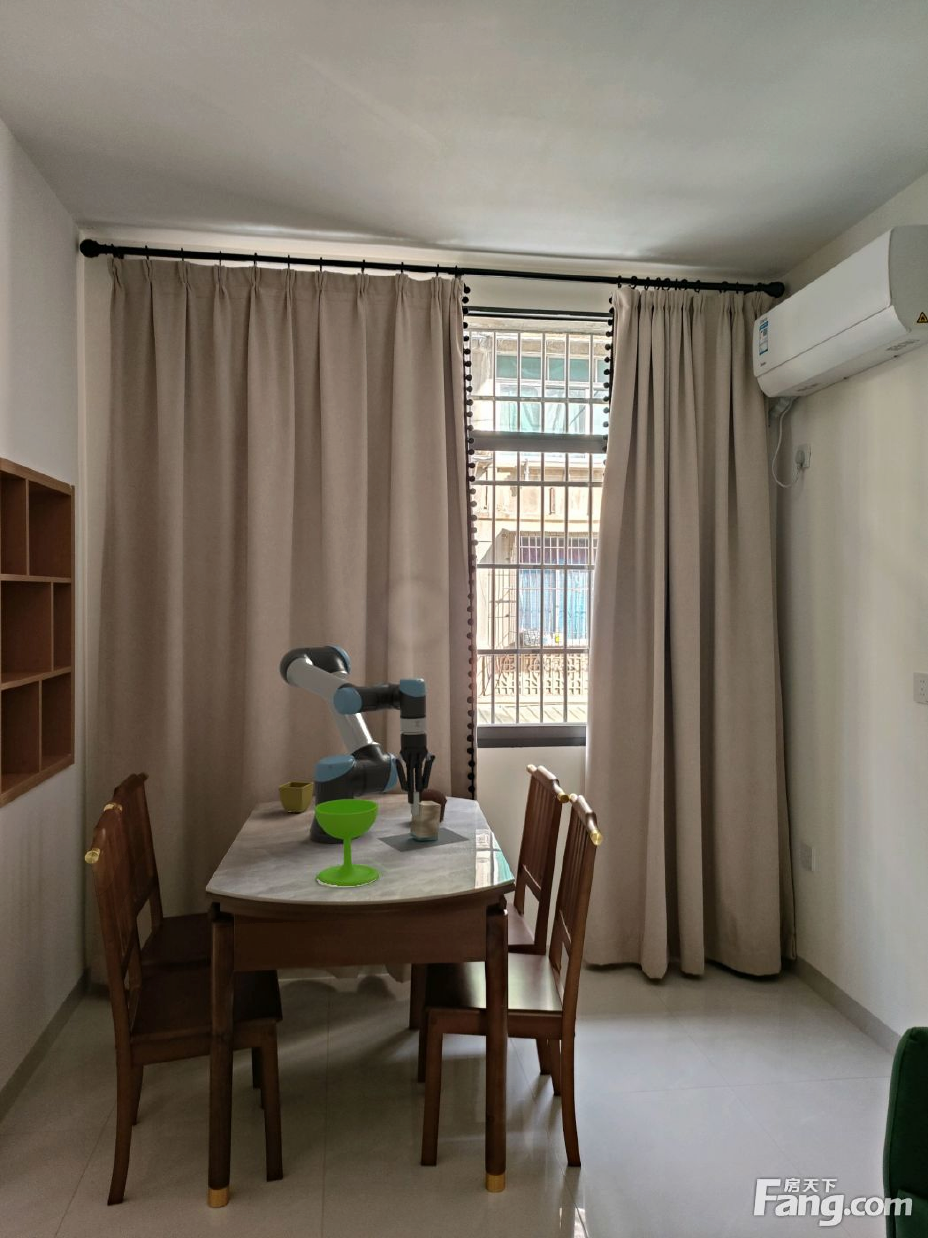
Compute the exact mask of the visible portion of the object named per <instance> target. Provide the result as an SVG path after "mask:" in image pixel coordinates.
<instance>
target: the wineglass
mask: <svg viewBox="0 0 928 1238" xmlns="http://www.w3.org/2000/svg"><path fill="white" fill-rule="evenodd" d="M378 811H379V804H378V802H376V801H372V800H369V799H360V798H359V799H358V798H355V799H343V800H334V801H328V802H324V803H321V804H319V805H317V806H315V805H314V815H315V816H316V819H317V821H318V823H319V825H320V826H321V827H322V828H323V830H324V831H325V832H326V833H328V834H329V835H331V836H333V837H335V838H339V839H343V841H344V842H343V863H342V864H340V865H335V866H334V865H333V866H330V867H327V868H325V869H323V870H322V871H320V872H319V873H318V874H317V875H316V877H317V879H319V880H320V881H321V882H323V883H327V884H331V885H337V886H357V885H362V884H365V883H369V882H371V881H373V880H375V879H378V878H379V879H380V877H379V875H380V872H379V871H378V870H377V869H376V868H374V867H372V866H368V865H365V864H364V865H363V864H354V863H352V840H351V839H353V838H356V837H358V836H360V837H361V836H363V835H364V834H365V833H366V832H367V831H369V830H370V829H371V827H372V826H373V824H374V823H375V822H376V819H377V816H378V815H379V814H378ZM358 838H359V837H358ZM356 839H357V838H356ZM353 840H354V839H353ZM379 879H378V880H379Z"/></svg>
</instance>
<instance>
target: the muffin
mask: <svg viewBox="0 0 928 1238" xmlns="http://www.w3.org/2000/svg"><path fill="white" fill-rule="evenodd" d="M422 801H433V802H435V803H437V804H440V805H441V811H440V822H439V823H442V822H443V821H444V819H445V818H444V817H445V810H446V804H447V803H448V799H447V798H446V796H445V794H443V792H440V791H439V790H437V789H433V788H427V789H424V790H423V792H422Z"/></svg>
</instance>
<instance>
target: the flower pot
mask: <svg viewBox="0 0 928 1238" xmlns="http://www.w3.org/2000/svg"><path fill="white" fill-rule="evenodd" d="M277 789H278V792H279V799H280V803H281V806H282V807H283V809H284V810H285V812H286V811H291V812H301V813H303V812H305V811H308V809H309V807H310V805H311V802H312V798H313V793H314V782H309V781H308V782H307V781H289V782H286V783H284V784H282V785H280V786H278V788H277ZM302 811H303V812H302Z"/></svg>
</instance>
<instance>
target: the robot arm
mask: <svg viewBox="0 0 928 1238" xmlns="http://www.w3.org/2000/svg"><path fill="white" fill-rule="evenodd" d="M278 668H279V674H280V677H281V678H282V680H283V681H284V682H285V683H287V684H288V685H290V686H292V687H294V688H296V689H297V688H303V689H305V690H306V691H309V692H311V693H312V694H314V695H317V696H319V697H320V698H322V699H324V700H325V703H326V705H327V708H328V710H329V712H330V714H331V716H332V719H333V722H334V724H335V725H336V728H337V730H338V732H339V735H340V737H341V740H342V741H343V744H344V747H345V749H346V751H347V753H348V754H344V753H343V754H338V755H337V754H336V755H335V754H334V755H330V756H326V757H324V758H320V759H319V761H317V762H316V764H315V765H314V775H313V779H314V797H315V798H314V800H315V802H314V803H315V805H314V807H315V806H317V805H319V804H321V803H324V802H328V801H334V800H343V799H358V798H361V797H367V796H372V795H377V794H378V795H379V794H383V793H385V792H389V791H391V790H393V789H394V788H395V786H396V785H397V782H398V780H399V785H400V789H401V790H402V791H405V792H407V803H408V804H410V814H411V816H412V815H414V816H417V815H419V803H421V802H422V792H423V790H424V789H429V788H428V787H429V783H430V778H431V772H432V768H433V763H434V762H435V759H436V755H435V754H432V753H430V752H429V749H428V748H427V745H428V742H427V741H428V740H427V738H428V734H427V733H426V731H427V692H426V691H427V690H426V682H425V680H424V678H419V677H417V678H416V677H406V678H401V679H400V680H399V682H398V683H399V684H397V683H392V682H381V683H378V684H375V685H364V686H358V685H356V684H353V683H351V682H349V679H350V673H351V668H352V667H351V661H350V656H349V655H348V654H347V652H346V651H345V650H344V649H343V648H342V647H339V646H335V645H334V646H333V645H325V646H314V647H313V646H312V647H311V646H310V647H309V646H308V647H296V648H293V649H291V650H289V651H288V652H286V653H285V654H284V655H283V656H282V658H281V660H280V663H279V667H278ZM389 710H395V711H399V727H400V728H399V731H400V732H401V733H400V736H399V737H400V751H399V755H398V756H395V755H394V754H392V753H391V752H385V751H384V749H383V747H382V745H381V743H378V742H375V741H374V739H373V737H372V734H371V732H370V730H369V727H368V725H367V723H366V722H365V719H364V717H363V716H362V715H363V713H371V712H381V711H389ZM403 762H404V763H405V768H406V773H405V769H404V766H403ZM423 762H424V765H423ZM422 768H423V769H422ZM310 826H311V827H310V828H309V839H310V840H311V841H313V842H315V843H322V844H340V843H344V841H343V839H339V838H335V837H333V836H331V835H329V834H328V833H326V832H325V831H324V830H323V828H322V827H321V826H320V825H319V823H318V821H317V819H316V816H315V814H314V816H313V818H312V821H311V825H310ZM360 837H361V836H358V837H356V838H353V839H351V841H352V840H355V839H358V838H360Z"/></svg>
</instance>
